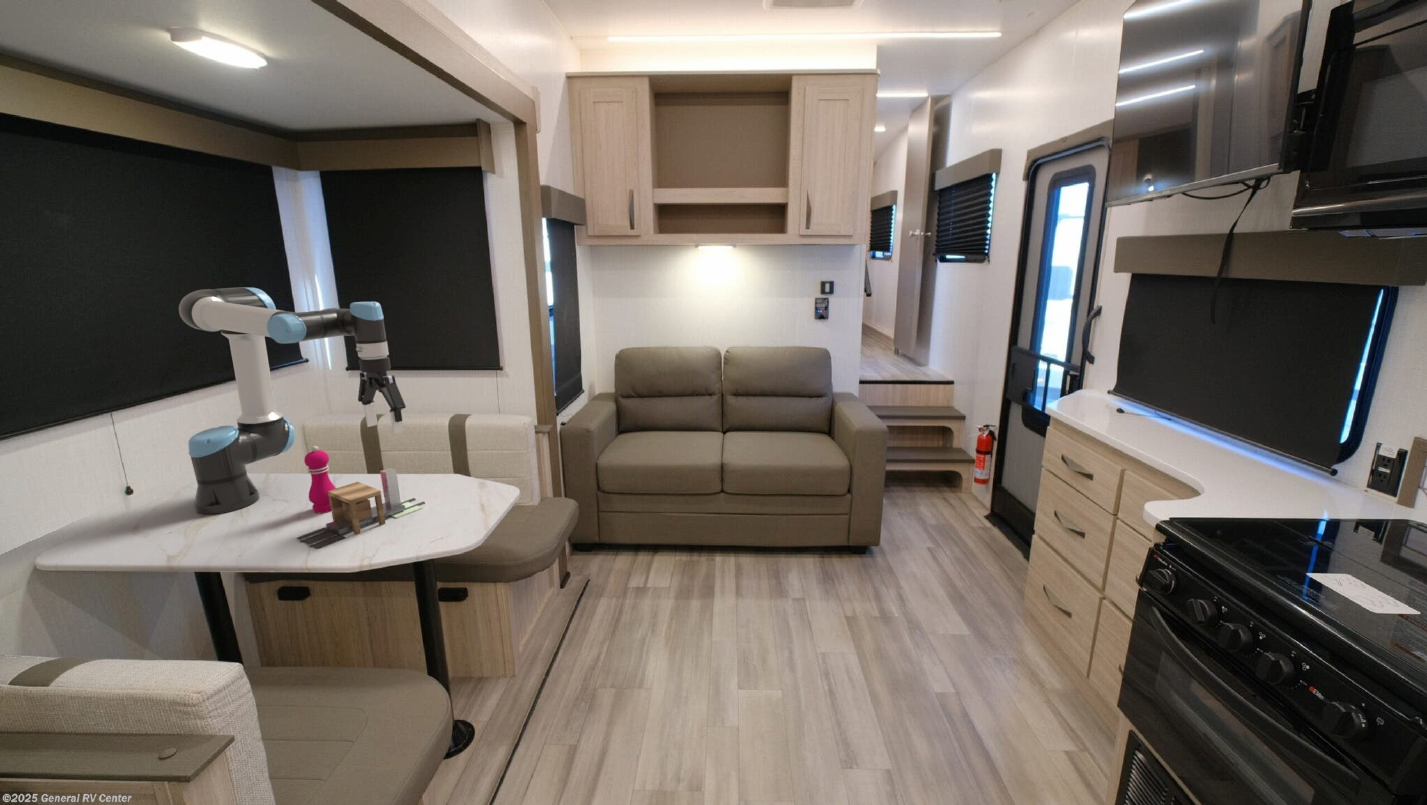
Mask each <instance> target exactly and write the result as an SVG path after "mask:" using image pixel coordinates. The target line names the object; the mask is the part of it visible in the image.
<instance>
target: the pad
mask: <svg viewBox="0 0 1427 805" xmlns="http://www.w3.org/2000/svg"><path fill="white" fill-rule="evenodd" d="M400 500H401V502H404V501H405V500H403V499H400ZM402 505H405V508H407V507H410V506H413V505H415V503H411V502H406V503H403V504H402ZM422 509H423V507H422V506H421V505H420V506H415V507H412V508H409V509H407V510H404V511H402V512H399V513H396V514H394V515H391V517H392V518H395V519H399V518H401V517H403V516H406V515H410V514H411V513H414V512H416V511H419V510H422Z"/></svg>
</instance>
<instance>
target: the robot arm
mask: <svg viewBox="0 0 1427 805" xmlns="http://www.w3.org/2000/svg"><path fill="white" fill-rule="evenodd" d="M276 308H277V307H276V305H275V303H274V301H273V299H272V298H271V297H270V295H268V294H267V293H266V292H265V291H264V290H262V289H260V288H256V287H247V286H246V287H241V286H239V287H226V288H224V287H223V288H213V289H210V288H207V289H198V290H195V291H192V292H190V293H188V294H187V295H185V296H184V297H183V298H182V299H181V301H180V303H179V305H178V312H179V317H180V318H181V320H182V321H183V322H184V323H185V324H186V325H188V326H189V327H190V328H193V329H196V330H201V331H205V332H219V331H220V334H221V335H222V336H224V337H225V338H227V339H228V341H229V342H228V343H229V346H230V354H231V358H232V363H233V364H232V365H233V370H234V377H235V380H236V381H235V382H236V388H237V392H238V398H239V404H240V409H241V414H240V416H239V417H237V419H236V423H237V427H236V426H235V425H222V426H221V425H220V426H217V427H211V428H208V429H204V430H202V431H200V432H197V433H195V434H194V435H192V436H191V437H190V438H189V440H188V442H187V443H188V444H187V445H188V455H189V456H190V460H191V462H192V468H193V472H194V476H195V479H196V482H197V483H196V484H197V489H196V493H195V498H194V503H193V506H194V509H195V512H196V513H198V514H201V515H216V514H217V515H218V514H225V513H228V512H233V511H237V510H240V509H243V508H246V507H249V506H250V505H252V504H254V503H256V502H257V501H259V500H260V494H259V493H260V492H259V490H258V489H257V487H256V485H255V484H254V483H253V482H252V479H251V478H249V476H248V473H247V472H248V471H247V465H250V464H253V463H255V462H259V461H262V460H265V459H270V458H271V457H277V456H279V455H280V454H282V453H285V452H288V451H289V450H290V449H291V448H292V447H293V446H294V444H295V440H296V430H295V428H294V425H292V422H291V421H290V420H289V419H288V418H286V417H284V414H283V413H281V411H278V410H277V408H276V406H277V405H276V400H275V395H274V389H273V383H272V377H271V375H272V374H271V370H270V364H269V357H268V350H267V345H266V338H265V337H268V338H271V339H272V340H274V341H275V343H278V344H296V343H300V342H301V343H302V342H307V341H314V340H319V339H325V338H327V339H328V338H333V337H334V338H335V337H339V336H340V337H341V336H343V337H344V336H346V337H347V336H350V337H351V336H353V337H354V339H355V345H356V348H355V351H357V356H358V357H359V360H358V364H359V370H360V372H359V389H358V396H357V401H358V402H360V403H361V404H362V405H363V409H364V410H363V411H364V415H365V416H364V417H365V422H366V427H367V428H370V427H373V426H378V423H379V422H378V418H377V411H376V405H375V404H376V403H375V400H374V398H375V395H376V392H377V391H378V392H379V393H381V394H382V396H383V398H384V400H385V401H386V403H387V404H388V406H389V408H390V409H389V413H390V421H391V426H392V427H391V429H392V434H399V433H403V432H405V430H404V423H403V415H402V410H403V409H406V404H405V401H404V399H403V396H402V394H401V392H400V390H399V387H398V385H397V383H396V381H397V380H396V377H395V375H388V373H387V371H390V370H391V368H392V367H391V366H392V365H391V361H390V360H391V359H390V357H389V355H390V353H389V346H388V341H387V335H386V334H387V333H386V327H385V320H384V318H385V317H384V313H383V309H382V306H381V304H380V302H377V301H358V302H357V301H355V302H351V303H350V305H349V308H337V307H331V308H323V309H321V310H313V311H303V312H301V311H300V312H299V311H298V312H297V311H296V312H295V311H287V310H280V309H276Z"/></svg>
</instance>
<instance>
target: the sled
mask: <svg viewBox="0 0 1427 805" xmlns="http://www.w3.org/2000/svg"><path fill="white" fill-rule="evenodd" d="M379 472H380V473H379V474H380V478H381V480H380V481H381V485H382V486H381V487H382V493H383V499H384V503H383V502H382V504H383V511H384V517H387V516H389V515H392V514H394V513H397V512H400V511H402V510H405V505H402V504H401V500H402V499H401V494H400V488H399V482H398V474H397V469H395V468H392V467H389V468H385V469H383V470H380V471H379ZM371 511H372V517H369V518H366V519H364V520H361V521H359V525H360V526H363V525H365V524H368V523H371V522H373V521H376V520H378V515H377V509H376V505H375V506H373V507H371ZM325 527H326V528H327V529H329V530H332V531H334V532H336V533H338V534H342V533H344V532H347V531H350V530H352V529H353V525H352V522H351V521H349V520H346V519H345V518H341V519H338V520H336V521H333V520H332V521H331V522H328V523H325Z"/></svg>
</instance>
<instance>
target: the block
mask: <svg viewBox="0 0 1427 805" xmlns="http://www.w3.org/2000/svg"><path fill="white" fill-rule="evenodd" d="M342 506H343V512H344V518H345V519H346V520H349V521H351V522H352V519H351V513H350V507H349V503H346V502H342ZM356 507H357V513H358V519H359V521H361V520H364V519H366V518H369V517H372V511H371V508H372V507H371V500H370V499H366V500H363V501H360V502H357V503H356Z"/></svg>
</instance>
